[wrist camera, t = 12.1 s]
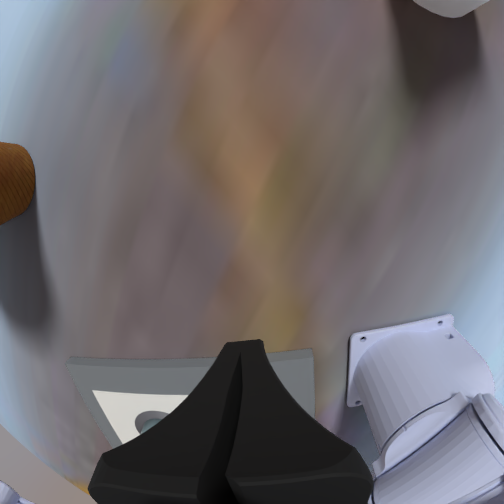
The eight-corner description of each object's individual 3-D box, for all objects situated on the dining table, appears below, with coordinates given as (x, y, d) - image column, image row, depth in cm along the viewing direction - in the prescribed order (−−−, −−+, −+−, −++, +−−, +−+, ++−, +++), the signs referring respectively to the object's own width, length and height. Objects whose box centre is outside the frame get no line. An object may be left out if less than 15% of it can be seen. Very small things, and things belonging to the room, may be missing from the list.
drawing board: (311, 348, 23) (317, 375, 20) (313, 469, 28) (316, 492, 25) (70, 356, 24) (53, 377, 21) (133, 467, 29) (126, 486, 26)
